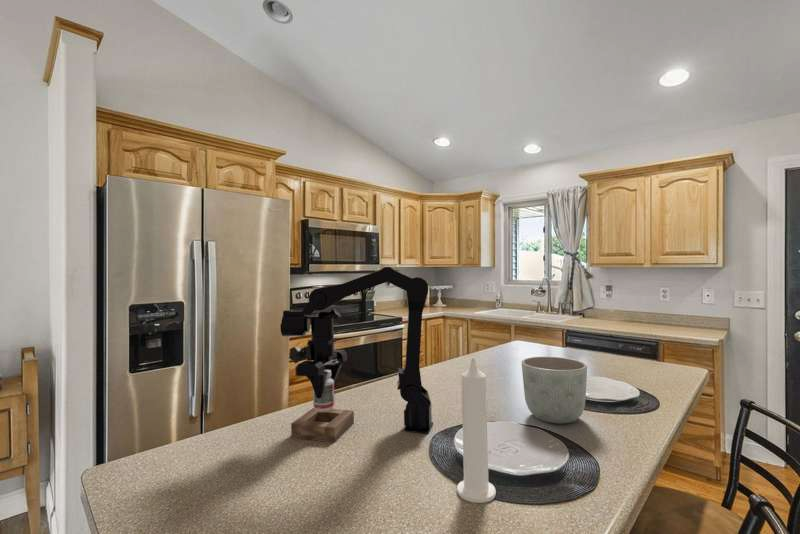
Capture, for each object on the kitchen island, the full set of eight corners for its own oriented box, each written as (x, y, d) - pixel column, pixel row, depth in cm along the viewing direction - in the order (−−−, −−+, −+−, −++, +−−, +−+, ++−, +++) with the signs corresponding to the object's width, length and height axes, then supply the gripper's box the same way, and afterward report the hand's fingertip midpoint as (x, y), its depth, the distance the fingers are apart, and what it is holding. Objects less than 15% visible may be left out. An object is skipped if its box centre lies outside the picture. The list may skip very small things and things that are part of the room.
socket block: (353, 423, 108) (353, 410, 108) (335, 442, 96) (334, 427, 96) (314, 419, 111) (313, 407, 111) (291, 437, 99) (291, 423, 99)
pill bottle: (337, 409, 103) (336, 371, 103) (318, 413, 100) (317, 374, 100) (329, 403, 107) (328, 367, 107) (310, 407, 104) (309, 370, 105)
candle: (453, 483, 77) (450, 354, 77) (488, 481, 77) (486, 353, 77) (462, 504, 70) (459, 362, 70) (501, 502, 70) (498, 361, 70)
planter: (511, 419, 109) (510, 364, 109) (537, 403, 121) (536, 353, 121) (575, 436, 97) (574, 374, 97) (597, 416, 109) (595, 361, 110)
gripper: (311, 329, 115) (313, 383, 115) (275, 340, 97) (276, 404, 97) (347, 330, 112) (348, 385, 112) (316, 341, 94) (318, 407, 94)
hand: (323, 394), depth 104 cm, fingers closed on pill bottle, 5 cm apart
